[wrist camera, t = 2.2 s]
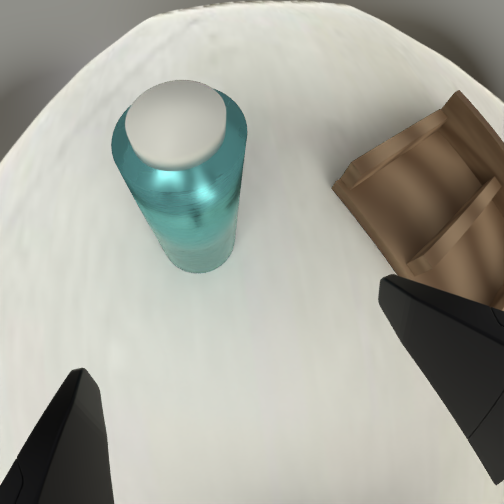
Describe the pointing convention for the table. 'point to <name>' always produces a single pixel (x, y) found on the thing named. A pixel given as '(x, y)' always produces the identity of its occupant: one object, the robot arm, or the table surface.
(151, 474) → the table surface
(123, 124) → the spray can
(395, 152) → the rack
